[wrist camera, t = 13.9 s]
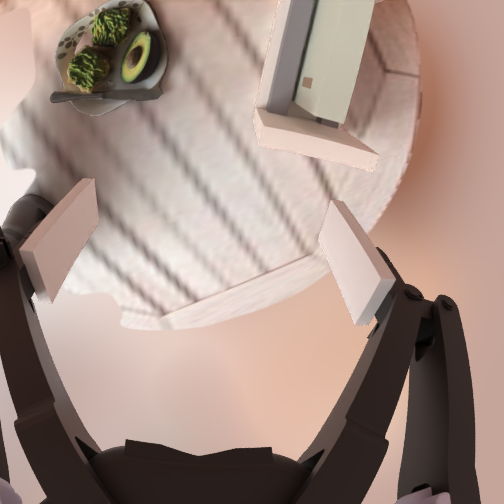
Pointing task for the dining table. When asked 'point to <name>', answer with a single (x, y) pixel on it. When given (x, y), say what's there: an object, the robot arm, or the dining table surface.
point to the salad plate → (112, 58)
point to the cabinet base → (291, 114)
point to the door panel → (332, 57)
